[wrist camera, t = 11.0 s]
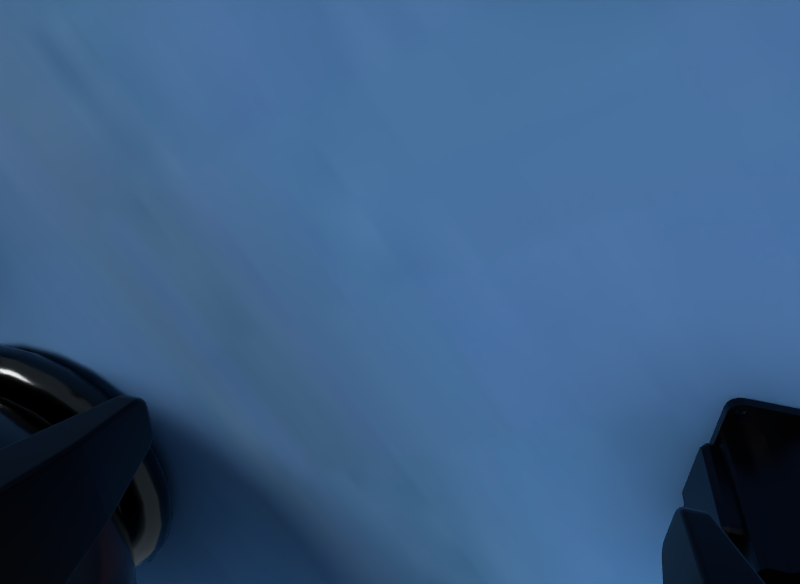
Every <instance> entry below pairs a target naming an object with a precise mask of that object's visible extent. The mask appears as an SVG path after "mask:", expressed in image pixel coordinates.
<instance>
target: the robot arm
mask: <svg viewBox="0 0 800 584" xmlns="http://www.w3.org/2000/svg"><path fill="white" fill-rule="evenodd" d="M740 410H744V411H746V412H745V413H744V414H742V415H736V414H735V413H736V412H737V411H740ZM152 440H153V429H152V425H151V421H150V417H149V413H148V409H147V405H146V403H145V401H144V400H143V399H141V398H137V397H132V396H127V395H120V396H117V397H115V398H113V399H111V400H108V401H106V402H104V403H102V404H99V405H97V406H95V407H93V408H91V409H88V410H86V411H84V412H82V413H79V414H77V415H75V416H73V417H71V418H68V419H66V420H64V421H62V422H60V423H57V424H55V425H53V426H51V427H48V428H46V429H44V430H42V431H40V432H37V433H35V434H33V435H31V436H28V437H26V438H24V439H22V440H20V441H17V442H15V443H13V444H11V445H8V446H6V447H4V448H2V449H0V584H66V583H67V581H68V580H69V578H70V577H71V575H72V574H73V572H74V571H75V569H76V568H77V567H78V565H79V564H80V562H81V561H82V559H83V558H84V556H85V555H86V553H87V552H88V551H89V549H90V548H91V546H92V545H93V543H94V542H95V540H96V539H97V538H98V536H99V535H100V533H101V532H102V530H103V529H104V527H105V525H106V524H107V522H108V521H109V519H110V517H111V516H112V514H113V512H114V511H115V509H116V507H117V506H118V504H119V502H120V500H121V498H122V497H123V495H124V493H125V491H126V489H127V488H128V486H129V484H130V482H131V480H132V479H133V477H134V475H135V473H136V471H137V470H138V468H139V466H140V464H141V462H142V461H143V459H144V457H145V455H146V453H147V452H148V450H149V448H150V446H151V443H152ZM682 494H683V499H684V507H680V508H678V509H677V510H676V511H675V513H674V516H673V518H672V521H671V524H670V526H669V529H668V532H667V534H666V537H665V539H664V542H663V548H662V571H663V584H800V409H796V408H791V407H785V406H780V405H775V404H770V403H765V402H760V401H755V400H750V399H745V398H736V399H732V400H730V401H728V402H727V403H726V405H725V406H724V408H723V411H722V413H721V416H720V418H719V420H718V423H717V425H716V428H715V430H714V433H713V435H712V438H711V440H710V443H706V444H704V445H703V446H701V447H700V449H699V451H698V454H697V456H696V459H695V461H694V464H693V466H692V469H691V471H690V474H689V476H688V479H687V481H686V484H685V486H684V489H683V492H682Z"/></svg>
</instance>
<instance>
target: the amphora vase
mask: <svg viewBox="0 0 800 584" xmlns="http://www.w3.org/2000/svg"><path fill="white" fill-rule="evenodd" d="M108 400H111V399H110V398H109V397H108V396H107V395H106V394H105V393H103V392H102V391H100V390H99V389H98V388H96V387H95V386H93V385H92V384H91V383H89V382H88V381H86V380H85V379H84V378H82V377H81V376H80V375H78V374H77V373H75V372H74V371H73V370H71V369H69V368H67V367H65V366H63V365H60V364H58V363H56V362H54V361H52V360H50V359H48V358H46V357H44V356H42V355H40V354H37V353H33V352H29V351H26V350H22V349H18V348H14V347H10V346H6V345H0V449H2V448H4V447H6V446H8V445H11V444H13V443H15V442H17V441H20V440H22V439H24V438H26V437H28V436H31V435H33V434H35V433H37V432H40V431H42V430H44V429H46V428H48V427H51V426H53V425H55V424H57V423H60V422H62V421H64V420H66V419H68V418H71V417H73V416H75V415H77V414H79V413H82V412H84V411H86V410H88V409H91V408H93V407H95V406H97V405H99V404H102V403H104V402H106V401H108ZM171 518H172V507H171V500H170V494H169V489H168V483H167V478H166V476H165V474H164V472H163V470H162V467H161V465H160V463H159V461H158V459H157V456H156V454H155V452H154V450H153V449H152V447H151V446H150V448H149V450H148V452H147V453H146V455H145V457H144V459H143V461H142V462H141V464H140V466H139V468H138V470H137V471H136V473H135V475H134V477H133V479H132V480H131V482H130V484H129V486H128V488H127V489H126V491H125V493H124V495H123V497H122V498H121V500H120V502H119V504H118V506H117V507H116V509H115V511H114V512H113V514H112V516H111V517H110V519H109V521H108V522H107V524H106V525H105V527H104V529H103V530H102V532H101V533H100V535H99V536H98V538H97V539H96V540H95V542H94V543H93V545H92V546H91V548H90V549H89V551H88V552H87V553H86V555H85V556H84V558H83V559H82V561H81V562H80V564H79V565H78V567H77V568H76V569H75V571H74V572H73V574H72V575H71V577H70V578H69V580H68V581H67V583H66V584H137V583H136V573H135V569H136V568H138V567H140V566H142V565H144V564H146V563H148V562H150V561H151V560H152V559H153V557H154V556H155V555H156V554H157V552H158V551H159V550H160V548H161V547H162V546H163V544H164V542H165V541H166V539H167V537H168V534H169V529H170V524H171Z"/></svg>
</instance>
